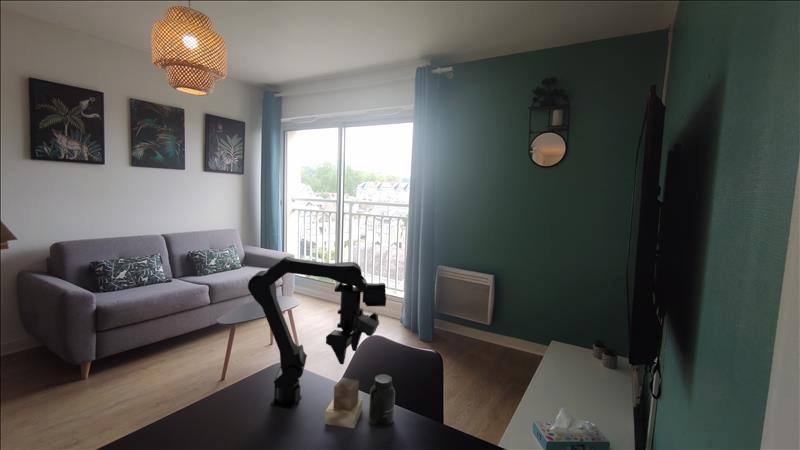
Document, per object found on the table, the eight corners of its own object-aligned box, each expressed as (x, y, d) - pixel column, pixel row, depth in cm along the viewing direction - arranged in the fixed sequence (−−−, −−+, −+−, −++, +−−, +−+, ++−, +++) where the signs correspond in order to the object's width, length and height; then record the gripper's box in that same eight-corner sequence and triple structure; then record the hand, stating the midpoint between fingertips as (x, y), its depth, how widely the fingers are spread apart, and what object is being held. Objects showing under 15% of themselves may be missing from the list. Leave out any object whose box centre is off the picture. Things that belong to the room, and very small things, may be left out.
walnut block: (333, 407, 97) (334, 386, 96) (341, 397, 102) (342, 377, 101) (350, 411, 95) (351, 390, 95) (358, 401, 100) (359, 381, 100)
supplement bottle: (390, 430, 94) (392, 386, 93) (365, 425, 96) (367, 382, 95) (396, 414, 101) (398, 374, 100) (372, 410, 103) (374, 370, 101)
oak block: (325, 425, 96) (325, 410, 96) (335, 407, 104) (335, 393, 103) (354, 429, 95) (354, 414, 94) (362, 411, 103) (362, 397, 102)
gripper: (364, 320, 94) (362, 377, 95) (386, 300, 112) (384, 349, 113) (325, 314, 97) (324, 369, 98) (353, 296, 115) (351, 343, 116)
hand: (348, 357), depth 107 cm, fingers open, 9 cm apart
